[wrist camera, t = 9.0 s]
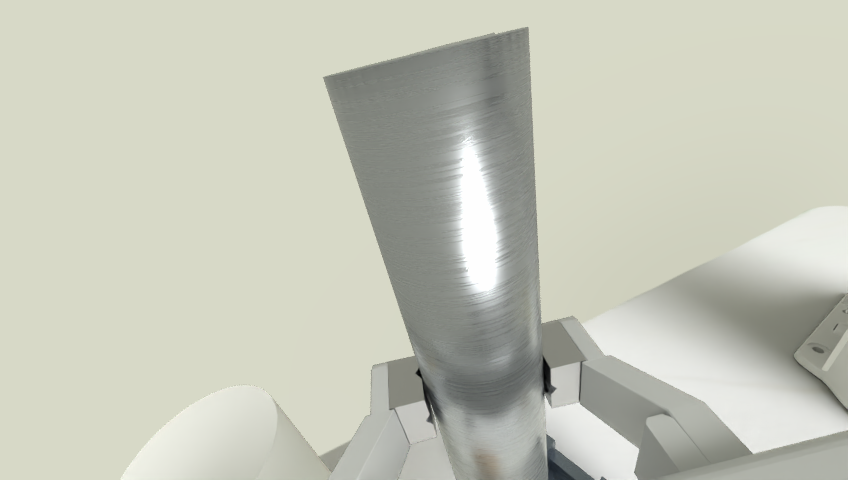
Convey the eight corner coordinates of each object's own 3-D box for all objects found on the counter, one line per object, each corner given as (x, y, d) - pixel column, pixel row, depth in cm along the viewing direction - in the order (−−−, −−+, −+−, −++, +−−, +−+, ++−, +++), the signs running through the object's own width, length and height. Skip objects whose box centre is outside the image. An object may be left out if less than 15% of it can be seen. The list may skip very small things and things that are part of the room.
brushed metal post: (552, 577, 13) (530, 28, 4) (464, 554, 14) (280, 88, 5) (543, 398, 18) (525, 25, 10) (482, 391, 20) (416, 52, 11)
